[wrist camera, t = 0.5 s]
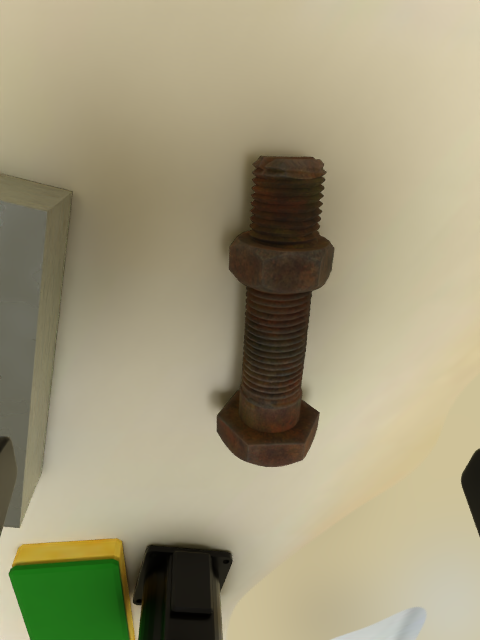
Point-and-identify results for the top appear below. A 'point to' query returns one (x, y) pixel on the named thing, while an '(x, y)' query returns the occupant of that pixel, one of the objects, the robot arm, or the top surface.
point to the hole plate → (29, 321)
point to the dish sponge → (73, 590)
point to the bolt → (277, 312)
